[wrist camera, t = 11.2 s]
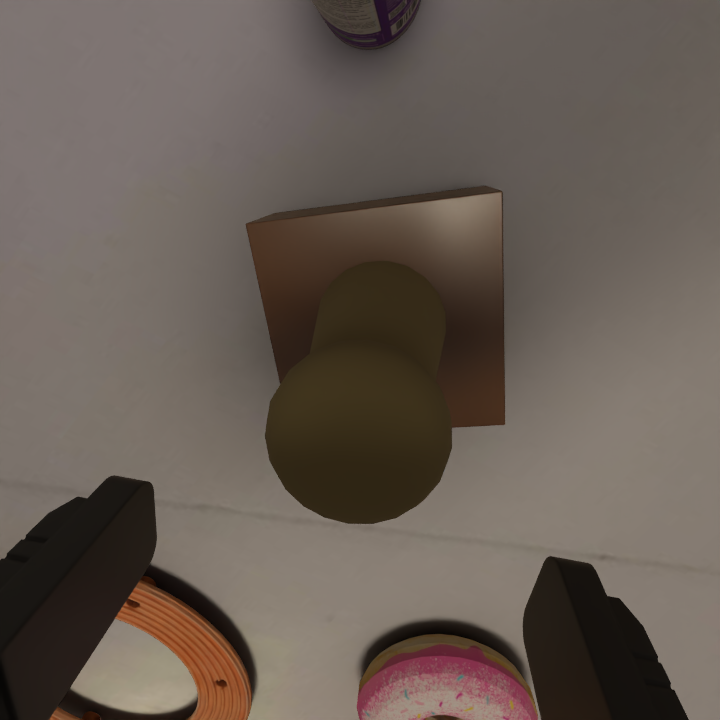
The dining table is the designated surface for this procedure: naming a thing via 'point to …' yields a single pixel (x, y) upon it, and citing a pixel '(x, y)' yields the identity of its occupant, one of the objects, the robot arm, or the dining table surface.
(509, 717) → the donut
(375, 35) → the container
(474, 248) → the walnut block
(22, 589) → the robot arm
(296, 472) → the olive pawn
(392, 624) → the dining table surface
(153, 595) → the ring
